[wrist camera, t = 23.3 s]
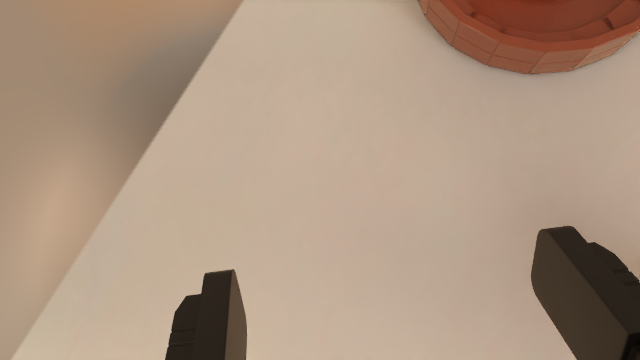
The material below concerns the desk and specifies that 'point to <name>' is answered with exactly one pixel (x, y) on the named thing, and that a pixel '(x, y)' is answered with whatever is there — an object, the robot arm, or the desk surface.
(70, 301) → the desk surface
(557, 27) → the bowl
